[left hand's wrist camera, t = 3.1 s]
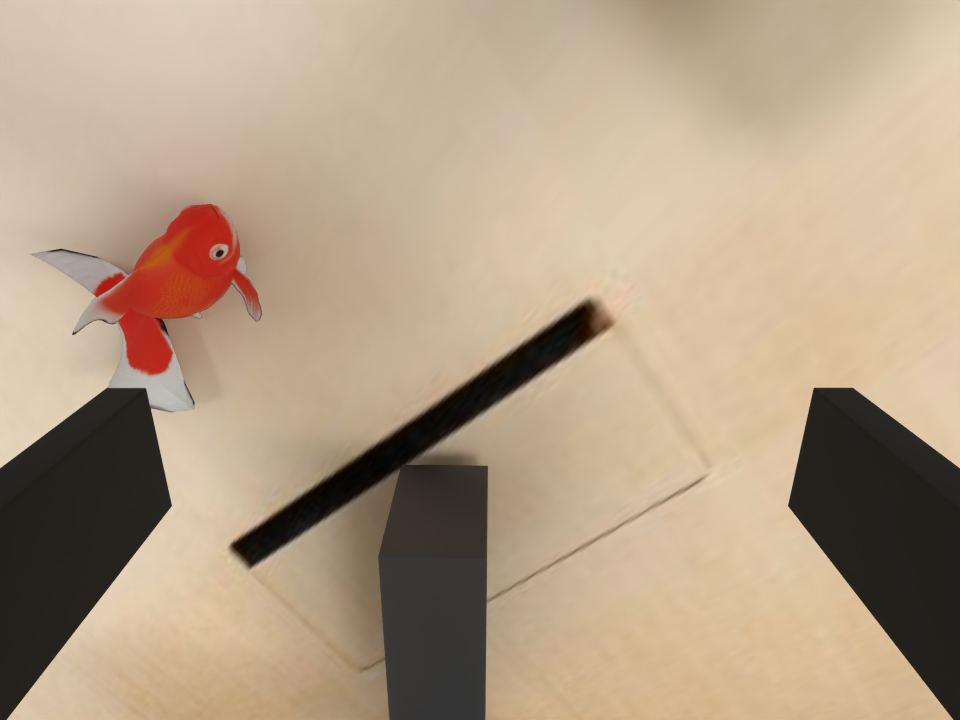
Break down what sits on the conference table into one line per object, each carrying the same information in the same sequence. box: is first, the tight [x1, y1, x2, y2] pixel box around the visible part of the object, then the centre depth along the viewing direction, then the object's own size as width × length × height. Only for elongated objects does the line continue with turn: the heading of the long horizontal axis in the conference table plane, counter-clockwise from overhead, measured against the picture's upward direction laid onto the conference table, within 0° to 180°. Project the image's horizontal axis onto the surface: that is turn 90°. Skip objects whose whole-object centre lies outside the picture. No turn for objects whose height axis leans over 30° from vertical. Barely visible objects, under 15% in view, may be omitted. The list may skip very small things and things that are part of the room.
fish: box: [30, 204, 262, 412], centre depth 35 cm, size 11×16×10 cm
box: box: [378, 465, 488, 720], centre depth 42 cm, size 25×6×9 cm, turn 0°
